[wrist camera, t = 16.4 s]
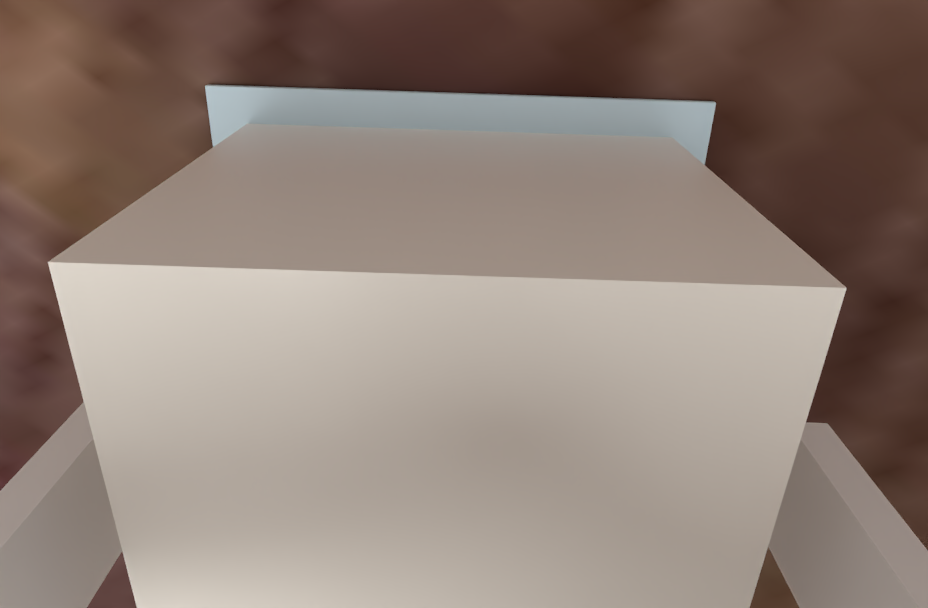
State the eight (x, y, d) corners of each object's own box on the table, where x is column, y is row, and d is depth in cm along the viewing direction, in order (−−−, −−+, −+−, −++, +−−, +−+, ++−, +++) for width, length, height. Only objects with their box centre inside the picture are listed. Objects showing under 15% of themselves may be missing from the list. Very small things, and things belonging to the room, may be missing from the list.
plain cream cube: (616, 468, 21) (700, 767, 13) (285, 457, 21) (174, 749, 13) (669, 135, 17) (845, 287, 9) (249, 121, 17) (48, 262, 9)
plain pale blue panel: (641, 493, 22) (642, 497, 21) (259, 480, 22) (257, 485, 21) (713, 101, 16) (716, 102, 16) (207, 84, 16) (205, 85, 16)
